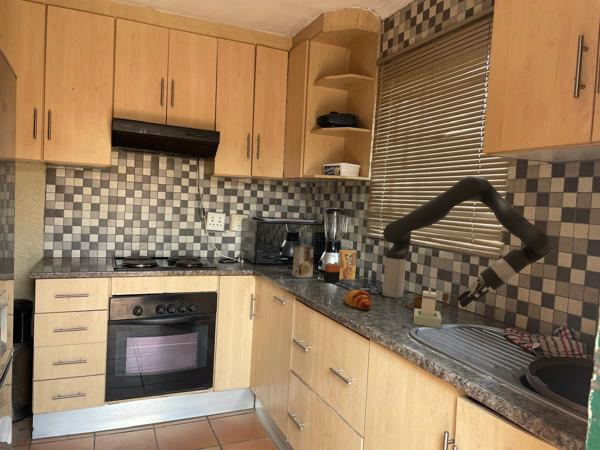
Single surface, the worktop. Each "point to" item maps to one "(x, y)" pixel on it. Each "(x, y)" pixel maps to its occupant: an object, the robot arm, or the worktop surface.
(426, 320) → the green rectangular tray
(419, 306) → the place setting
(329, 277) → the battery
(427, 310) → the block
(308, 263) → the coffee box
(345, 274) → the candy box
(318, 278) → the worktop surface
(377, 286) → the worktop surface
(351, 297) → the croissant
